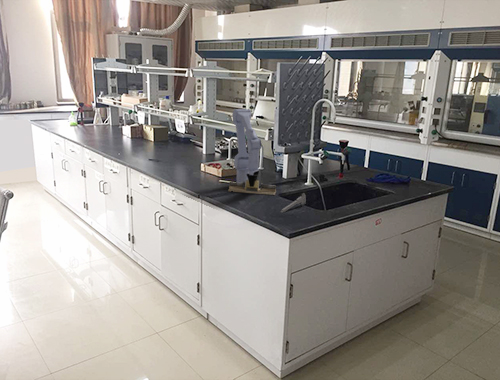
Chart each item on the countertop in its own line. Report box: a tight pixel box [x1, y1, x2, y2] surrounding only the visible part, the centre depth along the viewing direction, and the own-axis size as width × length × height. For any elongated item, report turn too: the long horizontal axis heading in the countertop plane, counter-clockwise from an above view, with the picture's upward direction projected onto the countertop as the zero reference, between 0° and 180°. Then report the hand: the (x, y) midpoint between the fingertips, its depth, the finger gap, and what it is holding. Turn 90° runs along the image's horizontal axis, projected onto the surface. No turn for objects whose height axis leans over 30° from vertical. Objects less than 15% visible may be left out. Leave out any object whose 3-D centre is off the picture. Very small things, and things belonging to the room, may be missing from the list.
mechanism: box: [227, 181, 277, 196], centre depth 231 cm, size 7×26×5 cm, turn 81°
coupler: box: [245, 179, 260, 191], centre depth 231 cm, size 4×7×5 cm, turn 81°
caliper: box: [280, 192, 307, 214], centre depth 205 cm, size 20×1×6 cm, turn 140°
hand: (252, 184), depth 231 cm, fingers open, 7 cm apart
